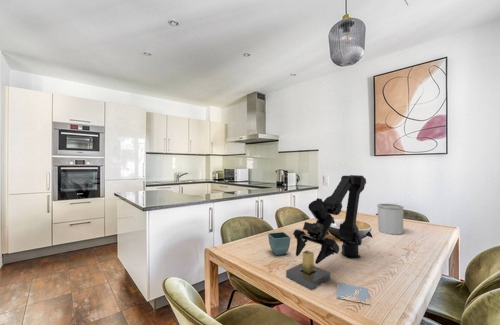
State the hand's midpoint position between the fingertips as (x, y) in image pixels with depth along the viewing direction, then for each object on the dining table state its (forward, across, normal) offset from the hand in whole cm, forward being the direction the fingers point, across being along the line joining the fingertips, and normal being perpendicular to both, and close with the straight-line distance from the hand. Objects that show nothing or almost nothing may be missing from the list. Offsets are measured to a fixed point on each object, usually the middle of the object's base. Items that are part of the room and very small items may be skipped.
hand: (305, 259), depth 89 cm
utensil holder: (-60, -3, +71) cm, 93 cm away
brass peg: (+4, 0, +6) cm, 8 cm away
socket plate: (+4, 0, +6) cm, 8 cm away
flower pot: (-2, -24, +13) cm, 27 cm away
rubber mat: (+2, +16, +8) cm, 19 cm away
